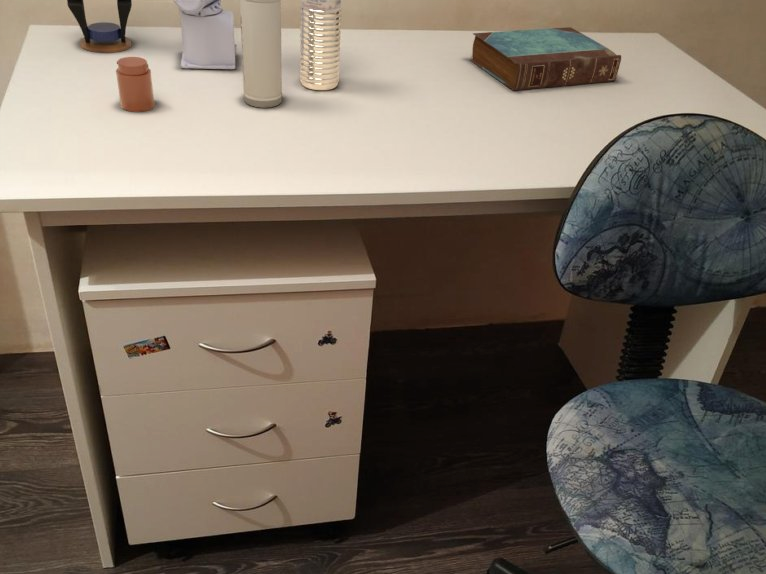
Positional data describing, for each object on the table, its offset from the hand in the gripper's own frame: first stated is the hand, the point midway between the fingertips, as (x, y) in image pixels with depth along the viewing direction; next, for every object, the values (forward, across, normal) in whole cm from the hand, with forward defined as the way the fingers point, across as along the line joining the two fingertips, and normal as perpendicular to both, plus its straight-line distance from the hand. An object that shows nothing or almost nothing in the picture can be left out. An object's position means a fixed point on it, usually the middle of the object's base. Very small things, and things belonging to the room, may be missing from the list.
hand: (105, 40), depth 148 cm
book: (+1, +81, -17) cm, 82 cm away
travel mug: (+1, +25, -29) cm, 38 cm away
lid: (-2, 0, 0) cm, 2 cm away
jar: (+1, +5, -30) cm, 30 cm away
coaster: (+1, 0, 0) cm, 1 cm away
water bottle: (+1, +36, -22) cm, 42 cm away
